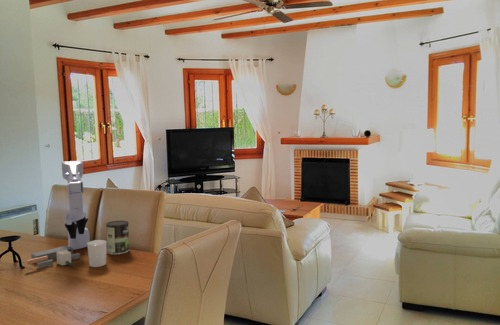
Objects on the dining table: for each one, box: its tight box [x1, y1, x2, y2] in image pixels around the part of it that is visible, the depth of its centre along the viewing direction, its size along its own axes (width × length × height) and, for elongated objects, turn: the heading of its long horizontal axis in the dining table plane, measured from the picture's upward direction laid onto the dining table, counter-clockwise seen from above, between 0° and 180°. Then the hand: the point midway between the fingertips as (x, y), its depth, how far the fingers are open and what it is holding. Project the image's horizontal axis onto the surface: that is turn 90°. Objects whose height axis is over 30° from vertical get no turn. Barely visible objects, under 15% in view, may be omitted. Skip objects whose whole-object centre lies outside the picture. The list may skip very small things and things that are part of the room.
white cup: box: [87, 239, 107, 268], centre depth 174 cm, size 8×8×10 cm
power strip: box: [30, 244, 81, 270], centre depth 181 cm, size 18×13×4 cm
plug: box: [56, 250, 76, 267], centre depth 174 cm, size 5×11×5 cm, turn 49°
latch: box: [26, 256, 48, 265], centre depth 170 cm, size 8×1×2 cm, turn 139°
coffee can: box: [105, 220, 130, 256], centre depth 193 cm, size 10×10×14 cm
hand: (77, 236), depth 186 cm, fingers open, 7 cm apart
